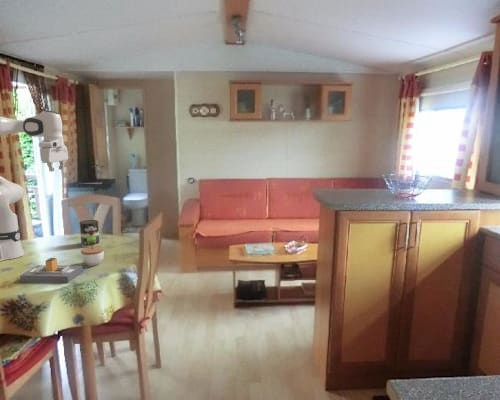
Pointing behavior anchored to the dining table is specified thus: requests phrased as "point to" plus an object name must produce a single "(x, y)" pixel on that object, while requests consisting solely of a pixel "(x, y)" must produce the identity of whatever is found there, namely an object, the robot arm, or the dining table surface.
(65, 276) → the panel
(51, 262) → the lever
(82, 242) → the coffee can
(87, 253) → the lidded jar
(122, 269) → the dining table surface
